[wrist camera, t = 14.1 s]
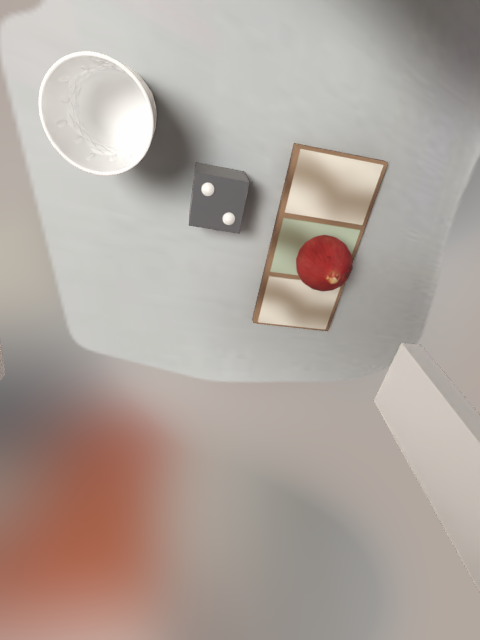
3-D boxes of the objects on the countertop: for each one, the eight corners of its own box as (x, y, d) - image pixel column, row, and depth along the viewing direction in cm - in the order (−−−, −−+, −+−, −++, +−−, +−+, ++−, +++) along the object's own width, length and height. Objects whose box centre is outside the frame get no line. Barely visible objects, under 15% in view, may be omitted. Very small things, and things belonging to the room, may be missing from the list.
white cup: (161, 61, 35) (150, 56, 26) (164, 156, 39) (156, 178, 30) (69, 54, 34) (26, 46, 25) (82, 152, 38) (50, 173, 30)
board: (293, 143, 39) (296, 144, 38) (384, 160, 41) (389, 162, 40) (252, 318, 50) (253, 323, 49) (325, 327, 52) (328, 331, 51)
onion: (347, 231, 44) (375, 259, 37) (329, 277, 46) (352, 311, 40) (298, 220, 42) (318, 247, 36) (283, 268, 45) (298, 301, 38)
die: (195, 162, 40) (195, 172, 35) (245, 171, 40) (251, 182, 36) (189, 210, 42) (188, 225, 38) (236, 218, 43) (240, 234, 39)
